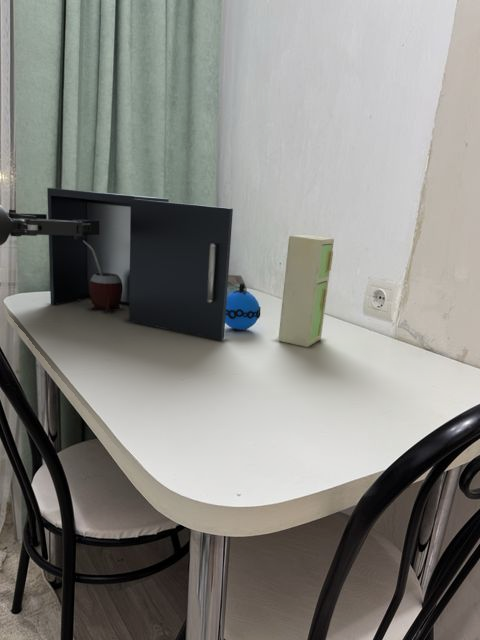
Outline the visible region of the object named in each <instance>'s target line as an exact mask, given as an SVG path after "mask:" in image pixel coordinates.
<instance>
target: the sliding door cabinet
mask: <svg viewBox="0 0 480 640" xmlns="http://www.w3.org/2000/svg"><path fill="white" fill-rule="evenodd" d="M46 191H47V195H46V196H47V219H49V220H65V221H72V220H99V235H83V236H81V237H78V239H74V236H62V235H48V258H49V259H48V260H49V262H48V263H49V292H50V305H52V306H55V305H60V304H61V305H62V304H66V303H70V302H76V301H81V300H87V299H90V300H91V298H90V288H89V286H90V281H91V278H92V276H93V275H94V274H95V273H99V270H98V267H97V264H96V261H95V258H94V256H93V254H92V250H91V249H90V248H89V247H88V246H87V245H86V244H85V243H84V242H83V240H84V241H85V242H87V243H88V244H89V245H90V246H91V247H92V248H93V249H94V251H95V252H96V254H97V255H96V256H97V259H98V262H99V265H100V268H101V271H102V273H113V274H117V275H118V276H119V277H120V279H121V281H122V287H123V289H122V297H121V301H120V304H119V306H124V307H128V321H129V322H131V323H136V324H141V325H146V326H151V327H156V328H160V329H165V330H171V331H174V332H179V333H184V334H190V335H194V336H199V337H204V338H209V339H212V340H213V339H214V340H218V341H223V340H224V339H225V331H226V323H225V317H226V302H227V288H228V275H229V274H230V273H229V271H230V257H231V242H232V230H233V229H232V228H233V216H234V215H233V213H234V208H230V207H221V206H211V205H201V204H192V203H191V204H190V203H181V202H171V201H170V198H163V197H155V196H154V197H152V196H145V195H144V196H142V195H131V194H122V193H112V192H103V191H101V192H100V191H91V190H78V189H67V188H66V189H65V188H55V187H53V188H52V187H47V190H46Z"/></svg>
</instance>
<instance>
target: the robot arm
mask: <svg viewBox="0 0 480 640" xmlns="http://www.w3.org/2000/svg"><path fill="white" fill-rule="evenodd" d="M49 235H62V236H74V239H78V237H81V236H83V235H99V220H72V221H65V220H49V219H48V213H18V212H17V210H15V209H8V212H7V211H6V209H5V208H4V207H3V206H2V205H1V204H0V246H2V245H4V244H5V243H6V242H7V241H8V239H9V238H10V237H22V236H29V237H37V236H49Z"/></svg>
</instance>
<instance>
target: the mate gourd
mask: <svg viewBox="0 0 480 640" xmlns="http://www.w3.org/2000/svg"><path fill="white" fill-rule="evenodd" d="M83 242H84V243H85V244H86V245H87V246H88V247H89V248H90V249H91V250H92V254H93V256H94V258H95V261H96V264H97V267H98V270H99V273H95V274H94V275H93V276H92V278H91V281H90V286H89V288H90V298H91V299H90V301H91V304H92V307H91V310H92V311H105V312H106V313H112V312H111V311H115V310H116V311H117V310H119V311H120V310H121V307H120V305H119V304H120V301H121V297H122V289H123V287H122V281H121V279H120V277H119V276H118V275H117V274H113V273H102V271H101V268H100V265H99V262H98V259H97V256H96V255H97V254H96V252H95V251H94V249H93V248H92V247H91V246H90V245H89V244H88V243H87V242H85V241H84V240H83Z"/></svg>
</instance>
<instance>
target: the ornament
mask: <svg viewBox="0 0 480 640" xmlns="http://www.w3.org/2000/svg"><path fill="white" fill-rule="evenodd" d="M245 286H246V284H245V285H244V284H243V283H241V284H240V286H239V290H237V291H234V292H232V293H230V294H229V295H227V302H226V317H225V325H226V326H227V327H229V328H231V329H233V330H236V331H244V330H249V328H251V327H253V326H254V325H255V324H256V322H257V321H258V320H259V319H260V317H261V306H260V304H259V301H258V299H257V298H256V297H255V296H254V295H253V294H252V293H251V292H249V291H248V290H247V291H244V288H245Z"/></svg>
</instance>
